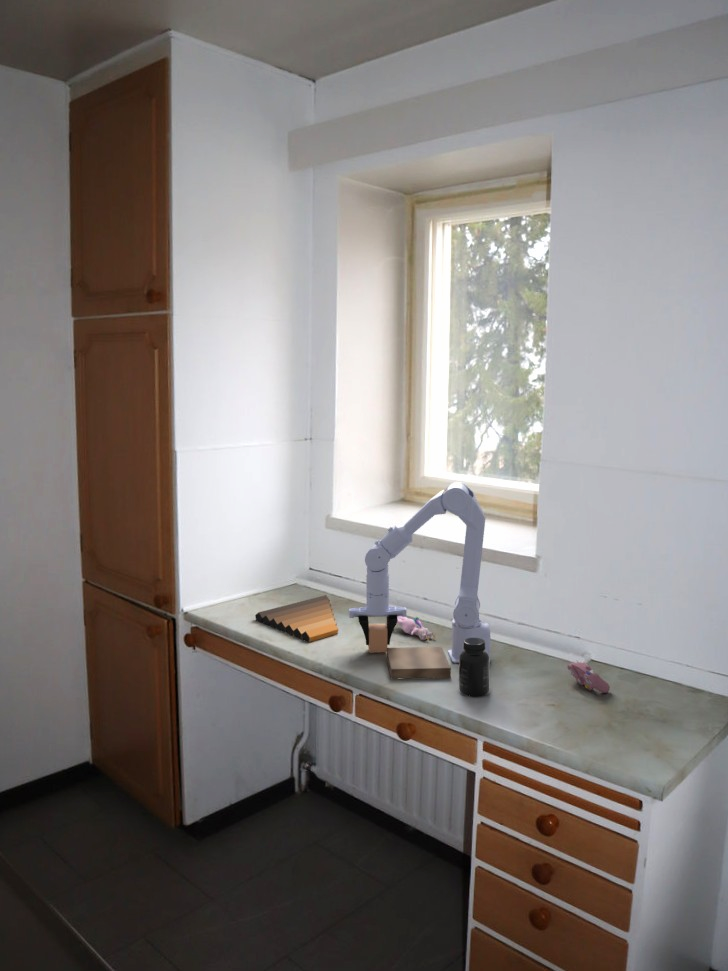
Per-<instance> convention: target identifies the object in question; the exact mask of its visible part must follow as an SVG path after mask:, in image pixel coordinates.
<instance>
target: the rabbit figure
mask: <svg viewBox="0 0 728 971" xmlns="http://www.w3.org/2000/svg"><path fill="white" fill-rule="evenodd" d="M397 619H398V621H397V624H398V625H399V626H400V627H401V628H402V631H404V633H406V634H408V635H411V636H413V635H414V634H415V635H416V636H418V638H419V640H421V641H426V642H427V643H428V642H429V641H430V639H431V638H432V636H433V638H432V640H436V634H434V633H433V632H431V631H430V630H429V628H428V627H427V628H426V627H424V626H423V624H422V622H421V621H420V617H419V616H415V618H414V619H412V618H408V617H407V616H406V617H402V616H397Z"/></svg>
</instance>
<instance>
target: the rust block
mask: <svg viewBox="0 0 728 971" xmlns="http://www.w3.org/2000/svg"><path fill="white" fill-rule="evenodd" d="M368 635H369V645H367V647H368V652H369V653H387V648H388V645H387V622H385V623H369V629H368Z"/></svg>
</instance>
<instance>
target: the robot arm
mask: <svg viewBox="0 0 728 971" xmlns="http://www.w3.org/2000/svg"><path fill="white" fill-rule="evenodd" d="M444 491H445V492H444ZM447 512H449V514H453V515H455V516H457V518H459V519H460V521H462V522H463V523H464V525H466V526H465V527H466V528H465V536H464V539H465V540H464V548H463V556H462V558H463V559H462V566H461V575H460V586H459V594H458V596H457V597H456V599H455V603H454V609H453V613H452V614H453V619H452V620H451V621H452V622H451V623H452V624H451V649H448V650H447V653H448V654H449V658H450V659H451V662H452V663H455V664H456V663H458V664H459V655H460V653H461V652H462V651H464V649H463V646H464V640H465V639H467V638H480V639H483V640H484V641H485V651H486V652H487V653H488V655H489V658H490V659H491V628H490V624H489V623H488V622H482V620H481V619H480V608H481V602H480V599H479V596H478V594H479V592H478V591H479V582H480V573H481V572H480V571H481V565H482V564H481V563H482V557H483V556H482V554H483V547H484V546H483V544H484V537H485V536H484V535H485V527H486V515H485V512H484V511H483V508H482V507H481V505H480V503H479V501H478V499H477V497H476V495H475V493H474V491H473V490H472V489H471V488H470V487H468V485H466V484H465V483H463V482H460V481H455V482H452V483H450V484H449V485H448V486H447V487H446V489H442V490H440V491H439V492H438V493H437V494H435V495H434V496H433V497H431V498H429V500H428V501H427V502H426V503H425V504H424V505H423V506H421V508H420V509H418V511H417V512H416V513H414V515H413V516H412V517H410V519H408V521H406V523H405V524H396V525H395V526H393V525H392V526H390V527H389V528H388V529H387V531H388V532H387V533H386V534H384V535H383V536H382V538H380V540H379V539H377V540H375V542H374V545H372V546H370V548H369V549H368V551H367V552H366V553H365V556H364V563H365V565H366V576H365V577H366V579H365V580H366V582H365V583H366V586H365V587H366V590H365V591H366V606H364V607H363V606H362V607H361V606H360V607H353V608H348V617H349V619H354V618H358V619H357V620H358V622H359V625H360V627H361V629H362V631H363V634H364V637H365V645H366V646H368V645H369V635H368V629H369V624H370V622H369V617H370V618H372V617H373V618H375V617H376V618H377V617H379V618H381V617H386V626H387V646H389V645H390V644H391V643H390V642H391V638H392V634H393V632H394V630H395V627H396V625H397V624H398V623H397V621H398V619H397V617H399V616H402V617H407V607H404V606H403V607H402V606H401V607H400V606H390V574H389V562H390V560H392V559H395V558H396V557H397V556H399V554H400V553H401V552H402V551H404V549H406V548H407V547H408V546H410V544H411V543H412V542H413V534H414V533H415V532H417V531H418V530H419V529H421V528H422V527H423V526H424V525H425V524H426V523H427V522H428V521H430V520H431V519H432V518H433V517H434V516H436V515H445V514H446V513H447Z"/></svg>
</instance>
